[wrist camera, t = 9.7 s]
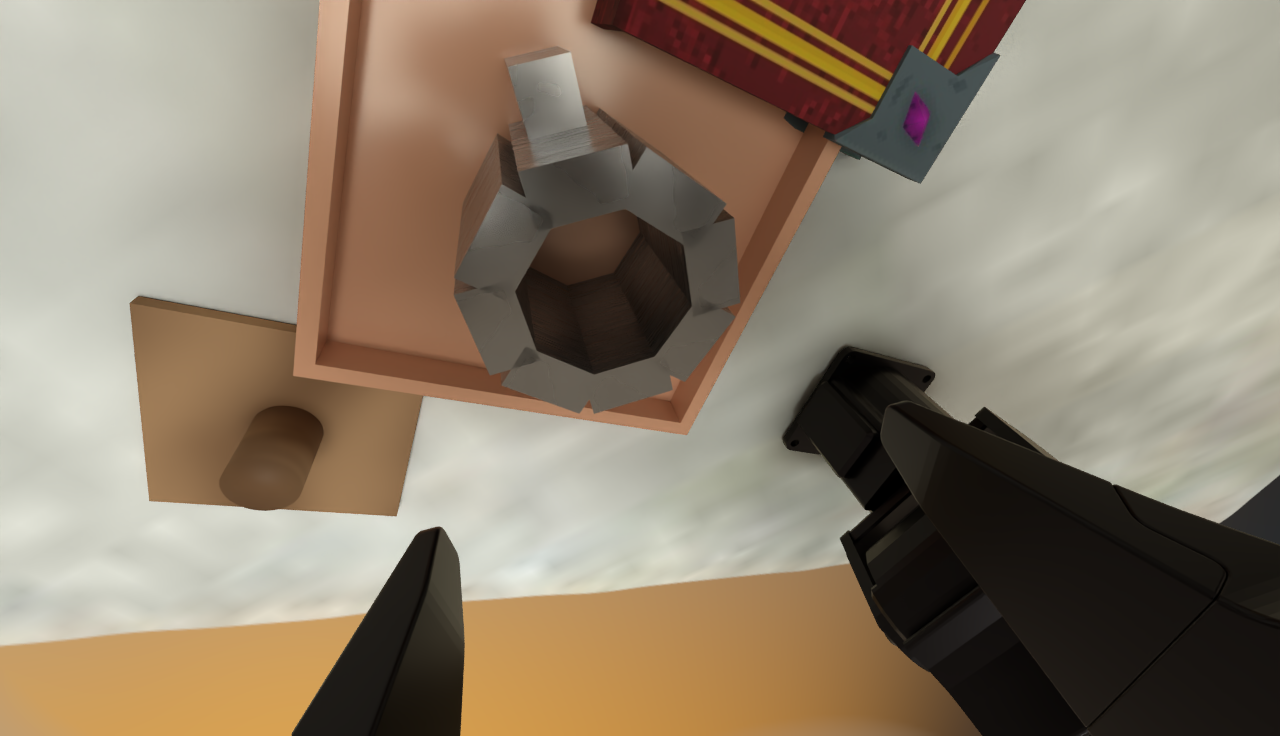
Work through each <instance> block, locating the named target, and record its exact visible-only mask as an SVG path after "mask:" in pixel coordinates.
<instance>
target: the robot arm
mask: <svg viewBox="0 0 1280 736" xmlns="http://www.w3.org/2000/svg"><path fill="white" fill-rule="evenodd" d="M849 356H850V357H849ZM848 357H849V358H848ZM847 358H848V359H847ZM934 378H935V373H934V372H933V371H932V370H931V369H929V368H928V367H924V366H921V365H917V364H913V363H910V362H906V361H902V360H898V359H895V358H891V357H887V356H884V355H880V354H876V353H872V352H869V351H865V350H861V349H858V348H854V347H846V348H844V349H843V350H841V351H840V353H839V354H838V355H837V357H836V358H835V360H834V361H833V363H832V365H831V366H830V368H829V369H828V371H827V372H826V374H825V375H824V377H823V378H822V380H821V381H820V383H819V384H818V386H817V388H816V389H815V391H814V392H813V394H812V395H811V397H810V398H809V400H808V401H807V403H806V404H805V406H804V407H803V409H802V411H801V412H800V414H799V415H798V417H797V418H796V420H795V421H794V423H793V424H792V426H791V427H790V429H789V430H788V432H787V433H786V435H785V437H784V439H783V443H784V444H785V446H786V447H787V449H789V450H793V451H800V452H807V453H813V454H820V455H822V456H823V458H824V459H825V460H826V462H827V463H828V464H829V466H830V467H831V468H832V470H833V471H834V472H835V474H836V475H837V476H838V477H839V478H841V479H842V480H843V482H844V483H845V484H846V486H847V487H848V488H849V489H850V491H851V492H852V493H853V495H854V496H855V497H856V499H857V500H858V501H859V503H860V504H861V505H862V506H863V508H864V509H865V510H869V511H870V514H869V515H868V516H867V517H865V518H864V519H863V520H862V521H861V522H860V523H859V524H858V525H857V526H856V527H854V528H853V529H852V530H851V531H849V530H848V531H847V532H846V533H845V534H844V535H842V536H841V537H840V540H841V542H842V545H843V547H844V549H845V551H846V555H847V558H848V560H849V562H850V564H851V566H852V569H853V571H854V573H855V575H856V578H857V580H858V582H859V584H860V587H861V589H862V591H863V593H864V596H865V598H866V600H867V602H868V604H869V606H870V609H871V611H872V613H873V616H874V618H875V620H876V622H877V624H878V626H879V628H880V629H881V630H882V631H883V632H884V633H885V635H886V637H887V639H888V640H889V641H890V642H891V643H892V644H893V645H895V646H897V647H898V648H900V650H901V651H902V652H903V653H904V654H905V655H907V656H908V657H909V658H910V659H911V660H912V661H913V662H915V663H916V664H917V665H918V666H920V667H921V668H923V669H925V670H926V671H928V672H931V673H932V674H933V676H934V677H935V678H936V679H937V680H938V681H939V682H940V683H941V684H942V685H943V687H945V689H946V690H947V691H948V692H949V693H950V695H951V696H952V697H953V698H954V700H955V701H956V702H957V703H958V705H959V706H960V707H961V708H962V710H963V711H964V712H965V714H966V715H967V716H968V718H969V719H970V720H971V721H972V723H973V724H974V725H975V727H976V728H977V729H978V730H979V732H980V733H981V735H982V736H1280V545H1279V544H1276V543H1273V542H1270V541H1267V540H1264V539H1262V538H1258V537H1256V536H1253V535H1250V534H1247V533H1244V532H1241V531H1239V530H1236V529H1233V528H1230V527H1227V526H1224V525H1221V524H1219V523H1216V522H1213V521H1210V520H1207V519H1205V518H1202V517H1199V516H1196V515H1193V514H1191V513H1188V512H1185V511H1182V510H1180V509H1177V508H1174V507H1172V506H1169V505H1167V504H1164V503H1161V502H1159V501H1156V500H1154V499H1151V498H1149V497H1146V496H1143V495H1141V494H1138V493H1136V492H1134V491H1131V490H1129V489H1126V488H1124V487H1121V486H1119V485H1116V484H1114V485H1112V484H1111V483H1110V482H1109V481H1106V480H1104V479H1101V478H1099V477H1096V476H1094V475H1091V474H1089V473H1086V472H1084V471H1081V470H1079V469H1076V468H1074V467H1071V466H1069V465H1067V464H1064V463H1062V462H1059V461H1058V460H1057V459H1055V458H1054V457H1053V456H1052V455H1050V454H1049V453H1048V452H1046V451H1045V450H1044V449H1042V448H1041V447H1040V446H1039V445H1037V444H1036V443H1035V442H1033V441H1032V440H1031V439H1029V438H1028V437H1027V436H1025V435H1024V434H1022V433H1021V432H1020V431H1018V430H1017V429H1015V428H1014V427H1013V426H1011V425H1010V424H1008V423H1007V422H1005V421H1004V420H1003V419H1001V418H1000V417H998V416H997V415H996V414H994V413H993V412H991V411H990V410H989V409H987V408H986V407H983V408H982V409H981V410H980V411H979V412H978V413H977V414H976V415H975V417H976V418H975V419H974V420H973V421H971V422H970V423H969V424H965V423H963V422H960V421H958V420H955V419H954V418H953V417H952V416H950V415H949V414H948V413H947V412H946V411H945V410H944V409H942V408H941V407H940V406H939V405H938V404H937V403H935V402H934V401H933V400H932V399H931V398H930V397H928V396H927V395H926V394H925V393H924V391H925V390H926V389H927V388H928V386H929V385H930V384H931V382H932V381H933V380H934ZM464 644H465V643H464V624H463V609H462V593H461V577H460V563H459V557H458V554H457V551H456V550H455V548H454V546H453V544H452V542H451V541H450V539H449V537H448V535H447V534H446V532H445V530H444V529H443V528H442V527H434V528H430V529H427V530H423V531H420V532H419V533H418V534H417V535H416V536H415V537H414V539H413V541H412V542H411V544H410V545H409V547H408V548H407V550H406V552H405V553H404V555H403V556H402V558H401V560H400V561H399V563H398V564H397V566H396V568H395V569H394V571H393V572H392V574H391V576H390V577H389V579H388V580H387V582H386V584H385V585H384V587H383V588H382V590H381V592H380V593H379V595H378V596H377V598H376V600H375V601H374V603H373V604H372V606H371V608H370V609H369V611H368V612H367V614H366V616H365V617H364V619H363V621H362V622H361V624H360V625H359V627H358V628H357V630H356V632H355V633H354V635H353V636H352V638H351V640H350V641H349V643H348V644H347V646H346V647H345V649H344V651H343V653H342V654H341V655H340V657H339V659H338V660H337V662H336V664H335V665H334V667H333V668H332V670H331V672H330V673H329V675H328V676H327V678H326V679H325V681H324V683H323V684H322V686H321V687H320V689H319V691H318V692H317V694H316V696H315V697H314V699H313V700H312V702H311V703H310V705H309V707H308V708H307V710H306V711H305V713H304V715H303V716H302V718H301V719H300V721H299V723H298V724H297V726H296V727H295V729H294V731H293V732H292V736H460V730H461V712H462V692H463V691H462V690H463V670H464Z"/></svg>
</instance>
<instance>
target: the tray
mask: <svg viewBox="0 0 1280 736" xmlns="http://www.w3.org/2000/svg"><path fill="white" fill-rule="evenodd" d="M596 3H597V0H320V4H319V18H318V32H317V46H316V60H315V75H314V89H313V103H312V117H311V131H310V145H309V159H308V173H307V187H306V201H305V215H304V229H303V244H302V258H301V272H300V286H299V300H298V314H297V328H296V342H295V356H294V370H293V376H297V377H304V378H310V379H317V380H324V381H330V382H337V383H344V384H350V385H357V386H364V387H370V388H377V389H384V390H390V391H397V392H404V393H410V394H417V395H423V396H430V397H437V398H443V399H450V400H457V401H463V402H470V403H477V404H483V405H490V406H497V407H503V408H510V409H517V410H523V411H530V412H536V413H543V414H550V415H556V416H563V417H570V418H576V419H583V420H590V421H596V422H603V423H610V424H616V425H623V426H630V427H636V428H643V429H649V430H656V431H663V432H669V433H676V434H683V435H687V434H688V432H689V430H690V428H691V426H692V425H693V423H694V421H695V419H696V417H697V415H698V413H699V411H700V410H701V408H702V406H703V404H704V402H705V400H706V398H707V397H708V395H709V393H710V391H711V389H712V387H713V385H714V384H715V382H716V380H717V378H718V376H719V374H720V372H721V371H722V369H723V367H724V365H725V363H726V361H727V359H728V357H729V356H730V354H731V352H732V350H733V348H734V346H735V344H736V343H737V341H738V339H739V337H740V335H741V333H742V331H743V330H744V328H745V326H746V324H747V322H748V320H749V318H750V317H751V315H752V313H753V311H754V309H755V307H756V305H757V303H758V302H759V300H760V298H761V296H762V294H763V292H764V290H765V289H766V287H767V285H768V283H769V281H770V279H771V277H772V276H773V274H774V272H775V270H776V268H777V266H778V264H779V262H780V261H781V259H782V257H783V255H784V253H785V251H786V249H787V248H788V246H789V244H790V242H791V240H792V238H793V236H794V235H795V233H796V231H797V229H798V227H799V225H800V223H801V222H802V220H803V218H804V216H805V214H806V212H807V210H808V208H809V207H810V205H811V203H812V201H813V199H814V197H815V195H816V194H817V192H818V190H819V188H820V186H821V184H822V182H823V181H824V179H825V177H826V175H827V173H828V171H829V169H830V168H831V166H832V164H833V162H834V160H835V158H836V156H837V154H838V153H839V151H840V149H841V147H842V146H840V145H838V144H836V143H834V142H832V141H830V140H828V139H826V138H824V137H823V135H824V133H825V131H824V130H822V129H820V128H818V127H816V126H814V125H812V124H810V123H809V124H808V126H807V128H806V129H805V131H804V133H803V132H801V131H799V130H797V129H795V128H794V127H793V126H792V125H790V124H789V123H788V122H787V121H786V120H785V119H784V116H785V114H786V111H784V110H782V109H780V108H777V107H775V106H773V105H771V104H769V103H767V102H765V101H763V100H761V99H759V98H757V97H755V96H753V95H751V94H749V93H747V92H745V91H743V90H741V89H739V88H737V87H735V86H733V85H731V84H729V83H727V82H725V81H723V80H721V79H719V78H717V77H715V76H713V75H711V74H709V73H707V72H704V71H702V70H700V69H698V68H696V67H694V66H692V65H690V64H688V63H686V62H684V61H682V60H680V59H678V58H676V57H674V56H672V55H670V54H668V53H666V52H664V51H662V50H660V49H658V48H656V47H654V46H652V45H650V44H648V43H646V42H644V41H642V40H640V39H638V38H636V37H634V36H631V35H629V34H627V33H625V32H621V31H614V30H606V29H602V28H600V27H598V26H596V25H594V24H592V23H591V20H592V16H593V13H594V10H595V6H596ZM555 46H558V47H561V48H563V49H565V50H567V51H570V52H571V55H572V60H573V64H574V69H575V73H576V78H577V82H578V87H579V91H580V96H581V100H582V105H583V106H585V105H586V106H587V107H588V108H589V109H591V110H592V111H593V112H594V113H595V114H597V112H598V110H599V108H600V109H602V110H603V111H604V112H606V113H607V114H609V115H610V116H611V117H613V118H614V119H616V120H617V121H618V122H620V123H621V124H623V125H624V126H625V127H627V128H628V129H630V130H631V131H632V132H634V133H635V134H637V135H638V136H639V137H641V138H642V139H644V140H645V141H646V142H648V143H649V144H651V145H652V146H653V147H655V148H656V149H657V150H659V151H660V152H662V153H663V154H664V155H665V156H667V157H668V158H669V159H670V160H672V161H673V162H674V163H676V164H677V165H678V166H679V167H681V168H682V169H683V170H684V171H686V172H687V173H688V174H689V175H691V176H692V177H693V178H695V179H696V180H697V181H698V182H700V183H701V184H702V185H703V186H705V187H706V188H707V189H709V190H710V191H711V192H712V193H714V194H715V195H716V196H717V197H719V198H720V199H721V200H722V201H724V202H725V203H726V206H725V207H724V210H725V211H726V212H728V213H729V214H730V215H731V216H733V217H734V220H735V234H736V248H737V263H738V277H739V291H740V303H738V304H735V305H732V306H728V308H729V310H730V311H731V312H732V313H733V314H734V316H735V318H734V320H733V321H732V322H731V323H730V325H729V326H728V327H727V329H726V330H725V331H724V332H723V334H722V335H721V336H720V338H719V339H718V340H717V341H716V343H715V344H714V345H713V346H712V348H711V349H710V350H709V352H708V353H707V354H706V355H705V357H704V358H703V359H702V361H701V362H700V363H699V364H698V366H697V367H696V368H695V370H694V371H693V372H692V373H691V375H690V376H689V377H688V379H687V380H686V381H685V382H684V381H682V380H679V379H677V378H675V377H673V376H671V375H670V377H671V383H672V388H673V390H671V391H668V392H665V393H662V394H658V395H655V396H652V397H648V398H645V399H642V400H638V401H635V402H632V403H628V404H625V405H622V406H619V407H615V408H612V409H609V410H605V411H602V412H599V413H595V414H594V413H593V409H592V406H591V403H590V400H589V401H588V402H587V404H586V405H585V406H584V408H583V409H582V411H581V412H580V414H579V413H576V412H573V411H570V410H568V409H565V408H562V407H559V406H556V405H554V404H551V403H548V402H545V401H543V400H540V399H537V398H534V397H532V396H529V395H526V394H523V393H521V392H518V391H515V390H512V389H510V388H507V387H504V386H501V373H497V374H494V375H489V373H488V370H487V368H486V366H485V364H484V361H483V359H482V357H481V355H480V353H479V350H478V348H477V346H476V344H475V342H474V339H473V337H472V335H471V333H470V330H469V328H468V326H467V324H466V322H465V319H464V317H463V315H462V313H461V311H460V308H459V306H458V304H457V302H456V299H455V297H454V286H455V278H454V272H455V264H456V256H457V248H458V239H459V231H460V223H461V215H462V206H463V202H464V200H465V198H466V196H467V194H468V192H469V190H470V188H471V186H472V183H473V181H474V179H475V177H476V175H477V173H478V171H479V169H480V167H481V165H482V163H483V161H484V159H485V157H486V155H487V153H488V151H489V149H490V147H491V145H492V143H493V141H494V139H495V137H496V135H497V133H498V134H499V135H501V136H502V137H504V138H506V139H507V140H509V141H510V142H512V140H511V135H510V130H509V126H508V124H511V123H515V122H520V121H522V118H521V114H520V111H519V108H518V104H517V101H516V97H515V94H514V90H513V87H512V84H511V80H510V77H509V73H508V70H507V66H506V63H505V60H504V58H508V57H512V56H517V55H521V54H525V53H529V52H534V51H538V50H542V49H547V48H551V47H555ZM639 233H640V230H639V225H638V220H637V216H636V215H635V214H633V213H631V212H630V211H628V210H627V209H623V210H619V211H615V212H612V213H608V214H604V215H600V216H597V217H593V218H589V219H585V220H582V221H578V222H574V223H570V224H567V225H563V226H559V227H555V228H552V229H551V230H550V231H549V233H548V235H547V237H546V238H545V240H544V242H543V244H542V245H541V247H540V249H539V251H538V252H537V254H536V256H535V257H534V259H533V261H532V263H531V264H530V266H529V267H531V268H533V269H535V270H537V271H539V272H541V273H543V274H545V275H547V276H549V277H551V278H553V279H555V280H557V281H559V282H561V283H563V284H565V285H567V286H568V285H571V284H575V283H578V282H582V281H586V280H589V279H593V278H596V277H600V276H604V275H607V274H611V273H614V271H615V270H616V268H617V267H618V265H619V264H620V262H621V260H622V259H623V257H624V256H625V254H626V253H627V251H628V250H629V248H630V247H631V245H632V243H633V242H634V240H635V239H636V237H637V236H638V234H639Z"/></svg>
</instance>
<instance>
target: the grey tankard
mask: <svg viewBox="0 0 1280 736" xmlns="http://www.w3.org/2000/svg"><path fill="white" fill-rule="evenodd" d="M504 60H505V63H506V66H507V70H508V73H509V77H510V80H511V84H512V87H513V90H514V94H515V97H516V101H517V104H518V108H519V111H520V114H521V118H522V121H520V122H515V123H511V124H508V126H509V130H510V135H511V140H512V142H510V141H509V140H507V139H506V138H504V137H502V136H501V135H499V134H498V133H497V135H496V137H495V139H494V141H493V143H492V145H491V147H490V149H489V151H488V153H487V155H486V157H485V159H484V161H483V163H482V165H481V167H480V169H479V171H478V173H477V175H476V177H475V179H474V181H473V183H472V186H471V188H470V190H469V192H468V194H467V196H466V198H465V200H464V202H463V206H462V215H461V223H460V231H459V239H458V248H457V256H456V264H455V272H454V278H455V286H454V297H455V299H456V302H457V304H458V306H459V308H460V311H461V313H462V315H463V317H464V319H465V322H466V324H467V326H468V328H469V330H470V333H471V335H472V337H473V339H474V342H475V344H476V346H477V348H478V350H479V353H480V355H481V357H482V359H483V361H484V364H485V366H486V368H487V370H488V373H489V375H494V374H497V373H501V386H504V387H507V388H510V389H512V390H515V391H518V392H521V393H523V394H526V395H529V396H532V397H534V398H537V399H540V400H543V401H545V402H548V403H551V404H554V405H556V406H559V407H562V408H565V409H568V410H570V411H573V412H576V413H579V414H580V412H581V411H582V409H583V408H584V406H585V405H586V404H587V402H588V401H589V400H590V403H591V406H592V409H593V413H594V414H595V413H599V412H602V411H605V410H609V409H612V408H615V407H619V406H622V405H625V404H628V403H632V402H635V401H638V400H642V399H645V398H648V397H652V396H655V395H658V394H662V393H665V392H668V391H671V390H673V388H672V383H671V377H670V375H671V376H673V377H675V378H677V379H679V380H682V381H684V382H685V381H686V380H687V379H688V377H689V376H690V375H691V373H692V372H693V371H694V370H695V368H696V367H697V366H698V364H699V363H700V362H701V361H702V359H703V358H704V357H705V355H706V354H707V353H708V352H709V350H710V349H711V348H712V346H713V345H714V344H715V343H716V341H717V340H718V339H719V338H720V336H721V335H722V334H723V332H724V331H725V330H726V329H727V327H728V326H729V325H730V323H731V322H732V321H733V320H734V318H735V316H734V314H733V313H732V312H731V311H730V310H729V308H728V306H732V305H735V304H738V303H740V291H739V277H738V263H737V248H736V234H735V220H734V217H733V216H731V215H730V214H729V213H728V212H726V211H725V210H724V207H725V206H726V203H725V202H724V201H722V200H721V199H720V198H719V197H717V196H716V195H715V194H714V193H712V192H711V191H710V190H709V189H707V188H706V187H705V186H703V185H702V184H701V183H700V182H698V181H697V180H696V179H695V178H693V177H692V176H691V175H689V174H688V173H687V172H686V171H684V170H683V169H682V168H681V167H679V166H678V165H677V164H676V163H674V162H673V161H672V160H670V159H669V158H668V157H667V156H665V155H664V154H663V153H662V152H660V151H659V150H657V149H656V148H655V147H653V146H652V145H651V144H649V143H648V142H646V141H645V140H644V139H642V138H641V137H639V136H638V135H637V134H635V133H634V132H632V131H631V130H630V129H628V128H627V127H625V126H624V125H623V124H621V123H620V122H618V121H617V120H616V119H614V118H613V117H611V116H610V115H609V114H607V113H606V112H604V111H603V110H602V109H600V108H599V110H598V112H597V114H595V113H594V112H593V111H592V110H591V109H589V108H588V107H587V106H586V105H585V106H583V105H582V100H581V96H580V91H579V87H578V82H577V78H576V73H575V69H574V64H573V60H572V55H571V52H570V51H567V50H565V49H563V48H561V47H558V46H555V47H551V48H547V49H542V50H538V51H534V52H529V53H525V54H521V55H517V56H512V57H508V58H504ZM623 209H627V210H628V211H630V212H631V213H633V214H635V215H636V216H637V220H638V225H639V230H640V233H639V234H638V236H637V237H636V239H635V240H634V242H633V243H632V245H631V247H630V248H629V250H628V251H627V253H626V254H625V256H624V257H623V259H622V260H621V262H620V264H619V265H618V267H617V268H616V270H615V271H614V273H611V274H607V275H604V276H600V277H596V278H593V279H589V280H586V281H582V282H578V283H575V284H571V285H568V286H567V285H565V284H563V283H561V282H559V281H557V280H555V279H553V278H551V277H549V276H547V275H545V274H543V273H541V272H539V271H537V270H535V269H533V268H531V267H529V266H530V264H531V263H532V261H533V259H534V257H535V256H536V254H537V252H538V251H539V249H540V247H541V245H542V244H543V242H544V240H545V238H546V237H547V235H548V233H549V231H550V230H551V229H552V228H555V227H559V226H563V225H567V224H570V223H574V222H578V221H582V220H585V219H589V218H593V217H597V216H600V215H604V214H608V213H612V212H615V211H619V210H623Z"/></svg>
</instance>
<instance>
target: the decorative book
mask: <svg viewBox="0 0 1280 736" xmlns="http://www.w3.org/2000/svg"><path fill="white" fill-rule="evenodd" d="M1025 1H1026V0H597V3H596V6H595V10H594V13H593V16H592V20H591V23H592V24H594V25H596V26H598V27H600V28H602V29H606V30H614V31H621V32H625V33H627V34H629V35H631V36H634V37H636V38H638V39H640V40H642V41H644V42H646V43H648V44H650V45H652V46H654V47H656V48H658V49H660V50H662V51H664V52H666V53H668V54H670V55H672V56H674V57H676V58H678V59H680V60H682V61H684V62H686V63H688V64H690V65H692V66H694V67H696V68H698V69H700V70H702V71H704V72H707V73H709V74H711V75H713V76H715V77H717V78H719V79H721V80H723V81H725V82H727V83H729V84H731V85H733V86H735V87H737V88H739V89H741V90H743V91H745V92H747V93H749V94H751V95H753V96H755V97H757V98H759V99H761V100H763V101H765V102H767V103H769V104H771V105H773V106H775V107H777V108H780V109H782V110H784V111H786V114H785V116H784V119H785V120H786V121H787V122H788V123H789V124H790V125H792V126H793V127H794V128H795V129H797V130H799V131H801V132H803V133H804V131H805V129H806V128H807V126H808V124H809V123H810V124H812V125H814V126H816V127H818V128H820V129H822V130H824V131H825V133H824V135H823V137H824V138H826V139H828V140H830V141H832V142H834V143H836V144H838V145H840V146H842V147H841V149H840V151H841V152H843V153H845V154H847V155H849V156H851V157H854V158H856V159H859V160H860V158H861V156H862V157H864V158H866V159H868V160H870V161H872V162H874V163H876V164H879V165H881V166H883V167H885V168H887V169H889V170H891V171H893V172H895V173H897V174H899V175H901V176H903V177H905V178H907V179H910V180H912V181H915V182H918V183H920V184H921V182H922V181H923V179H924V177H925V176H926V174H927V173H928V171H929V169H930V168H931V166H932V165H933V163H934V161H935V160H936V158H937V157H938V155H939V153H940V152H941V150H942V148H943V147H944V145H945V144H946V142H947V140H948V139H949V137H950V136H951V134H952V132H953V131H954V129H955V128H956V126H957V124H958V123H959V121H960V120H961V118H962V116H963V115H964V113H965V111H966V110H967V108H968V107H969V105H970V103H971V102H972V100H973V99H974V97H975V95H976V94H977V92H978V91H979V89H980V87H981V86H982V84H983V83H984V81H985V79H986V78H987V76H988V75H989V73H990V71H991V70H992V68H993V66H994V65H995V63H996V62H997V60H998V58H999V57H1000V55H999V54H996V53H993V52H994V51H995V49H996V47H997V46H998V44H999V43H1000V41H1001V39H1002V38H1003V36H1004V35H1005V33H1006V31H1007V30H1008V28H1009V27H1010V25H1011V23H1012V22H1013V20H1014V19H1015V17H1016V15H1017V14H1018V12H1019V11H1020V9H1021V7H1022V6H1023V4H1024V3H1025Z"/></svg>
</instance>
